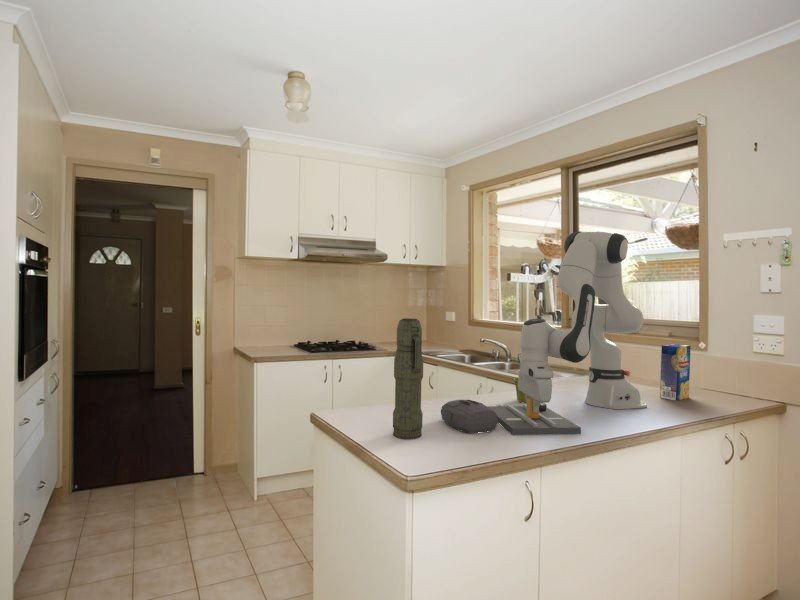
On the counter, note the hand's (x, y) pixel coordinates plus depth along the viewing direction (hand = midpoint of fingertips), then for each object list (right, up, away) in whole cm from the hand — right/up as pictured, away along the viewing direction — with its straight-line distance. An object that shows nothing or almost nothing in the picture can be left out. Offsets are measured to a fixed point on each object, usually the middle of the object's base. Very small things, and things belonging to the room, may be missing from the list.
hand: (532, 410), depth 165 cm
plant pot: (+6, -4, +34) cm, 34 cm away
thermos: (-42, -5, -15) cm, 44 cm away
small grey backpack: (-22, -5, -2) cm, 23 cm away
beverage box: (+72, -5, +46) cm, 85 cm away
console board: (0, -5, +3) cm, 5 cm away
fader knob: (0, -2, 0) cm, 2 cm away
